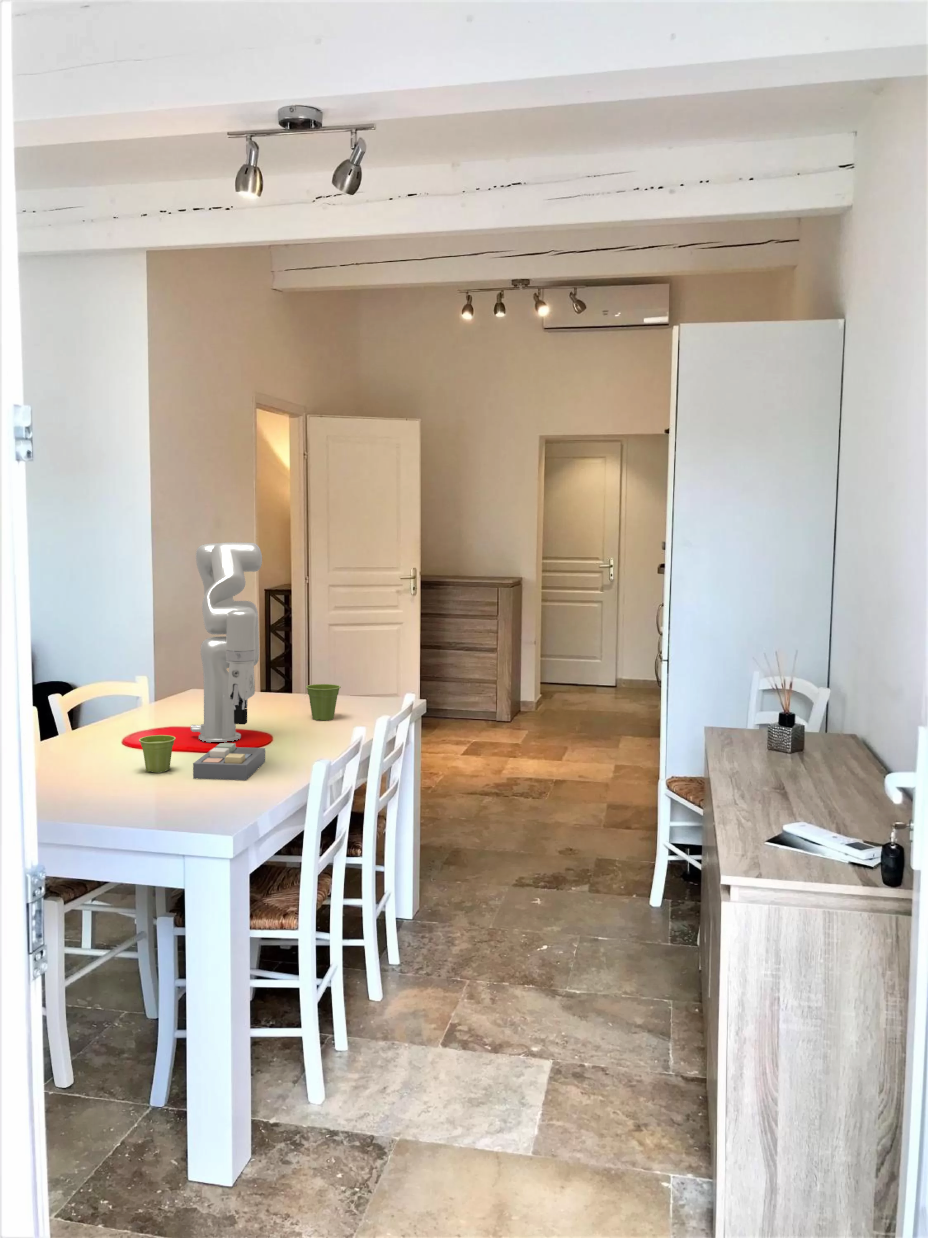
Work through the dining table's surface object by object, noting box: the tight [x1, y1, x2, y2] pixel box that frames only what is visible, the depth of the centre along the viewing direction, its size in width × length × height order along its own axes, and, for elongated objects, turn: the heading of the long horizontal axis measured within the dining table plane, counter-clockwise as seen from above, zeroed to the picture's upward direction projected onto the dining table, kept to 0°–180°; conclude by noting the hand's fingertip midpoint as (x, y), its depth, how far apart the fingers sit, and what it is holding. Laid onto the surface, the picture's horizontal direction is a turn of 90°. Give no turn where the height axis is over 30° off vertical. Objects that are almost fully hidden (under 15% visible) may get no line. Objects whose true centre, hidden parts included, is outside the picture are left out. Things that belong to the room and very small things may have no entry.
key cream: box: [209, 747, 229, 758], centre depth 275 cm, size 4×4×3 cm
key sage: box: [215, 742, 237, 752], centre depth 281 cm, size 4×4×3 cm
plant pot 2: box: [305, 683, 342, 722], centre depth 347 cm, size 12×12×11 cm
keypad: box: [192, 746, 266, 781], centre depth 275 cm, size 14×20×4 cm
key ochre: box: [225, 753, 245, 764], centre depth 269 cm, size 4×4×3 cm
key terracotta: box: [203, 758, 223, 763], centre depth 269 cm, size 4×4×3 cm
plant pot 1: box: [138, 734, 176, 774], centre depth 273 cm, size 9×9×9 cm
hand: (240, 723), depth 274 cm, fingers closed
